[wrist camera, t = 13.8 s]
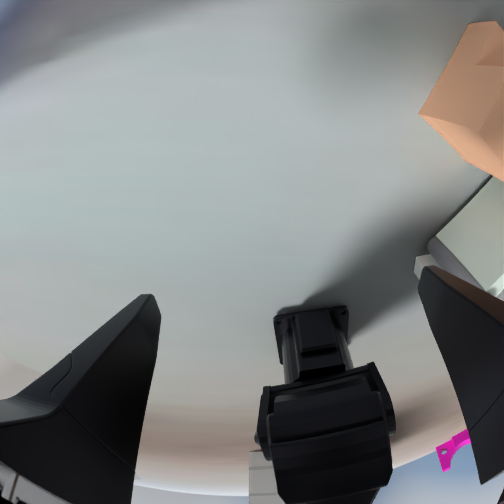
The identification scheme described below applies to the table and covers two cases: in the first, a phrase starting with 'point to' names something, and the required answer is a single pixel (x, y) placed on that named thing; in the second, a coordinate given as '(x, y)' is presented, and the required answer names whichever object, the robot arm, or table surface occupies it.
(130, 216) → the table surface
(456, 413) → the table surface
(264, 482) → the pizza boxes
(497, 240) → the door
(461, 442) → the toy block
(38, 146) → the table surface
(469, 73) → the tan stair step
